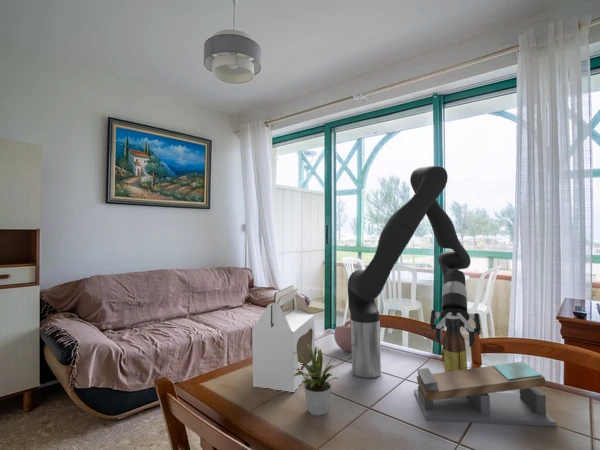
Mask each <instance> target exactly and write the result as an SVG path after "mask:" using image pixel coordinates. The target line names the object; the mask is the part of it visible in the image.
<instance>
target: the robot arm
mask: <svg viewBox="0 0 600 450" xmlns="http://www.w3.org/2000/svg"><path fill="white" fill-rule="evenodd" d="M409 181H410V185H411V188H412V190H413V193H414V194H413V196H412V197H411V198H410V199H409V200H408V201H407V202H405V203H404V204H403V205H402V206H401V207H399V208H398V209H397V210H396V211H395V212H394V213H393V214H392V215H391V216H390V218H389V219H388V220H387V223H386V224H385V226H384V227H383V229H382V230H381V233H380V235H379V238H378V243H377V246H376V250H375V254H374V255H373V257H372V259H371V260H370V262H369V263H368V265H367V266H366V268H365V269H357V270H355V271H353V272H352V273H350V275H349V278H348V280H347V301H348V310H349V312H350V320H351V323H350V327H351V339H352V340H351V345H352V352H351V372H352V376H355V377H359V378H364V379H372V378H373V379H374V378H378V377H379V376H381V374H382V364H381V363H382V362H381V360H382V358H381V325H380V323H381V322H380V312H379V309H378V308H377V305H376V301H375V299H376V298H378V297H379V296H380V295H381V294H382V291H383V290H384V288H385V284H386V282H387V281H388V278H389V276H390V274H391V273H392V270H393V269H394V266H395V265H396V263H397V262H398V260H399V259H400V257H401V255H402V253H403V252H404V250H405V248H406V247H407V246H408V244H409V242H410V241H411V240H412V237H413V236H414V234H415V232H416V231H417V229H418V227H419V225H420V223H421V222H422V221H423V220H424V217H425V216H426V217H427V219H428V221H429V224H430V226H431V228H432V233H433V235H434V238H435V240H436V243H437V245H438V247H439V248H440V249H448V250H449V249H450V250H449V251H442V252H441V253H440V254H439V255H438V257H437V261H438V265H439V267H440V270H441V275H442V290H441V291H442V293H441V311H440V312H438V311H436V310H435V309H431V311H430V312H431V314H430V319H429V320H430V321H429V327H430V330H432V331H435V340H436V342H437V343H438V344H442V331H443V330H444V329H445V330H446V329H447V328H446V321H445V317H446V316H457V317H459V318H460V323H459V324H460V328H462V329H463V330H464V331H466V332H467V333H468V343H469V347H471V348H473V346H474V345H475V344H476V343H475V342H476V341H475V335H478V336H479V335H481V334H482V333H481V332H482V331H481V330H482V327H481V321H480V314H479V313H477V312H475V313H474V314H469V311H468V292H467V289H466V285H467V284H466V276H465V273H464V272H463V271H461V270H465V269H466V270H467V269H468V268H469V267H470V265H471V262H472V261H471V257H470V255H469V253H468V251H467V250H466V248H464V246H463V244H462V243H461V241H460V240H459V238H458V235H457V232H456V229H455V225H454V223H453V221H452V219H451V218H450V216H449V215H448V214H447V212H446V211H445V209H443V207H442V206H441V205H440V203H439V202H438V200H437V199H438V198H439V196H440V195H441V193H442V192H443V191H444V189H445V188H446V186H447V183H448V172H447V170H446V168H444V167H443V166H440V165H430V166H429V165H428V166H421V167H418V168H416V169H414V170H413V171H412V173H411V175H410V179H409ZM439 317H440V318H441V320H440V321H439V322H438V323H437V324H436V320H438V319H439ZM469 320H470V321H472V323H474V326H475V328H474V327H472V325H471V324H470V323H469Z"/></svg>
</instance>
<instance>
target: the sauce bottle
mask: <svg viewBox="0 0 600 450" xmlns="http://www.w3.org/2000/svg"><path fill="white" fill-rule="evenodd" d="M445 321H446V328H445V330H446V332H445V335H444V337H443V342H442V343H443V345H442V347H443V348H442V349H443V361H444V362H443V363H444V372H450V371H457V370H465V369H468V361H467V360H468V359H467V348H466V341H465V337H464V336H463V334H462V332H461V327H460V324H459V323H460V318H459V317H457V316H446V317H445Z"/></svg>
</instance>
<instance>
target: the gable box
mask: <svg viewBox="0 0 600 450" xmlns="http://www.w3.org/2000/svg"><path fill="white" fill-rule="evenodd" d="M298 290H299V288H296V289H295V286H294V285H290V286H287V287H284V288H282V289H280V290H278V291H276V292H275V293H274V296H273V302H271V303H269V304H268V305H267V306H266V308H265V310H264V311H263V312H262V314H261V316H260V317H259V319H258V320H257V322H256V324H255V325H254V327H253V328H252V329H251V332H252V335H251V337H252V338H251V339H252V343H251V344H252V346H251V347H252V387H253V386H257V387H265V388H272V389H277V390H283V391H289V392H288V393H290V392H294V393H295V392H296V391H297V390H298V389H299V388H300V386H301V385H302V383H303V382H304V381H305V380H306V378H307V376H305V377H306V378H305V377H303V376H302V375H301V374H300V375H297V376H294V375H295V374H296V373H298V371H297V370H296V369H298V370H302V371H300V372H303V373H305V374H309V372H308V370H307V369H306V368H305V366H304V365H305V364H304V363H305V362H306V363H307V365H308V366H310V365H312V361H311V358H310V352H309V348H308V345H309V346H310V347H311V348H312V351H313V355H314V350H315V347H316V340H315V339H316V336H315V327H316V326H315V314H314V313H313V312H312V311H311V309H310V307H309V306H308V305H307V303H306V302H305V300H304V299H303V297H302V296H301V295H300V294H299V293H297V292H298ZM307 344H308V345H307ZM292 352H295V353H292ZM296 353H297V354H296ZM298 354H299V355H300V356H301V357H302V358H303V359H304V360H305V362H304V360H303V359H302V358H301V357H300V356H299V355H298ZM297 355H298V356H297ZM297 361H301V362H300V363H303V362H304V363H303V364H304V365H303V366H302V367H301V369H299V368H298V362H297ZM294 362H295V363H294ZM301 365H302V364H301ZM293 368H295V369H293ZM307 368H308V367H307ZM309 371H310V370H309ZM305 374H303V375H305ZM293 376H294V377H293ZM302 378H304V379H302ZM302 381H303V382H302ZM299 385H300V386H299ZM296 389H297V390H296ZM295 390H296V391H295ZM283 391H282V392H283Z"/></svg>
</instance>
